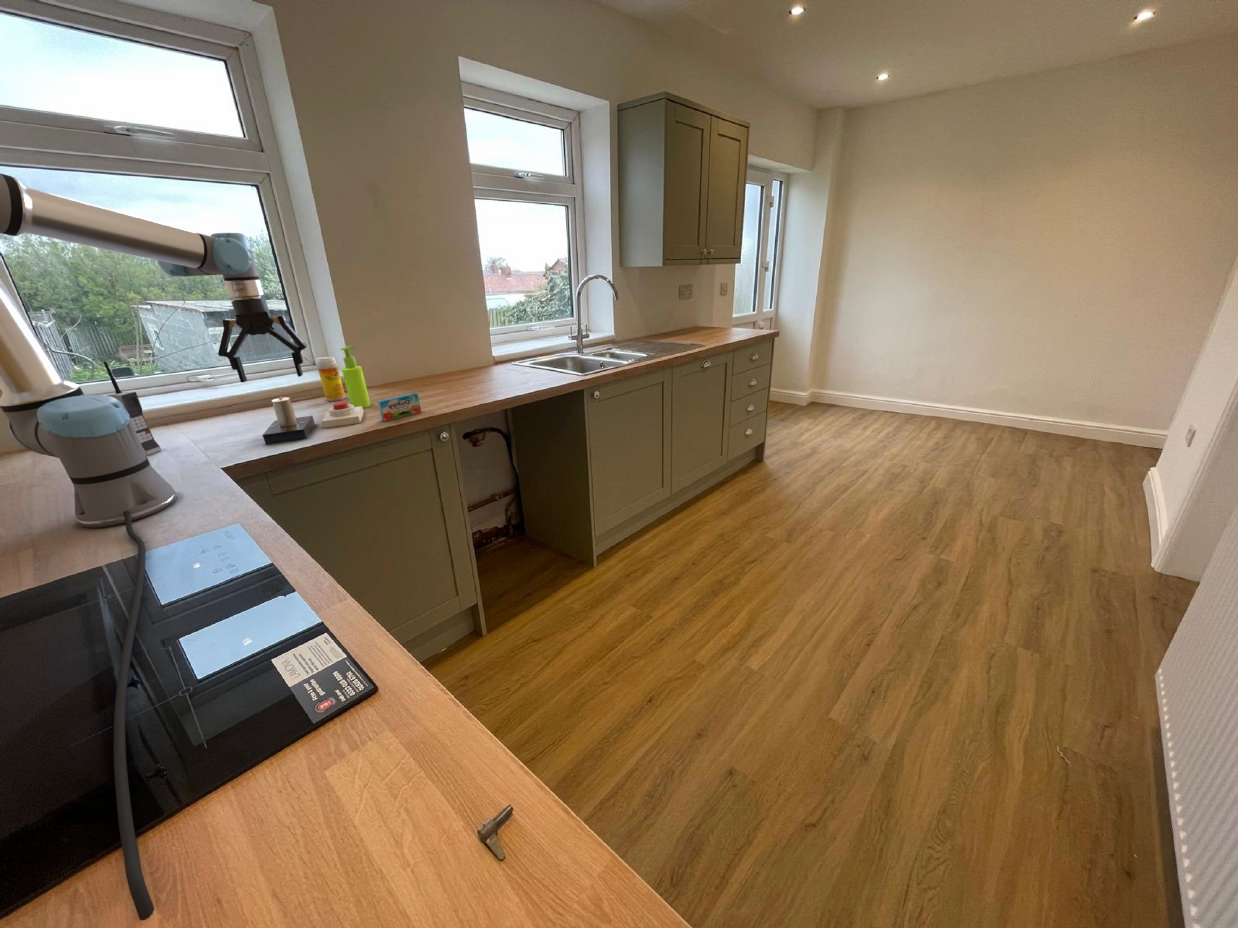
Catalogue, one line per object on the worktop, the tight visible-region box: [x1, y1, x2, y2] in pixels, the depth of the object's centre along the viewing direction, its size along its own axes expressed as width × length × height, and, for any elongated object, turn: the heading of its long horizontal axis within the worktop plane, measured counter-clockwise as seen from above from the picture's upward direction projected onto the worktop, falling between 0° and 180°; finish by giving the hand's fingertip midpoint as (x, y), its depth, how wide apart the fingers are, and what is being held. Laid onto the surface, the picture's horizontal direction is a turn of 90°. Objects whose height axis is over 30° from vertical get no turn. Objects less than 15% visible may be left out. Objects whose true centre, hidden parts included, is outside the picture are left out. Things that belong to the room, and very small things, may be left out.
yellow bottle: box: [315, 355, 346, 402], centre depth 178 cm, size 6×6×15 cm
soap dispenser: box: [340, 345, 372, 409], centre depth 167 cm, size 6×7×20 cm
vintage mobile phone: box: [102, 361, 162, 456], centre depth 132 cm, size 4×5×25 cm
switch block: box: [321, 404, 364, 429], centre depth 156 cm, size 12×10×4 cm
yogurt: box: [377, 392, 422, 422], centre depth 156 cm, size 12×2×6 cm, turn 136°
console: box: [262, 415, 316, 446], centre depth 145 cm, size 14×10×3 cm
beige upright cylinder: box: [271, 396, 297, 427], centre depth 143 cm, size 4×4×8 cm
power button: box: [332, 401, 349, 410], centre depth 155 cm, size 4×4×2 cm
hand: (272, 378), depth 139 cm, fingers open, 13 cm apart
